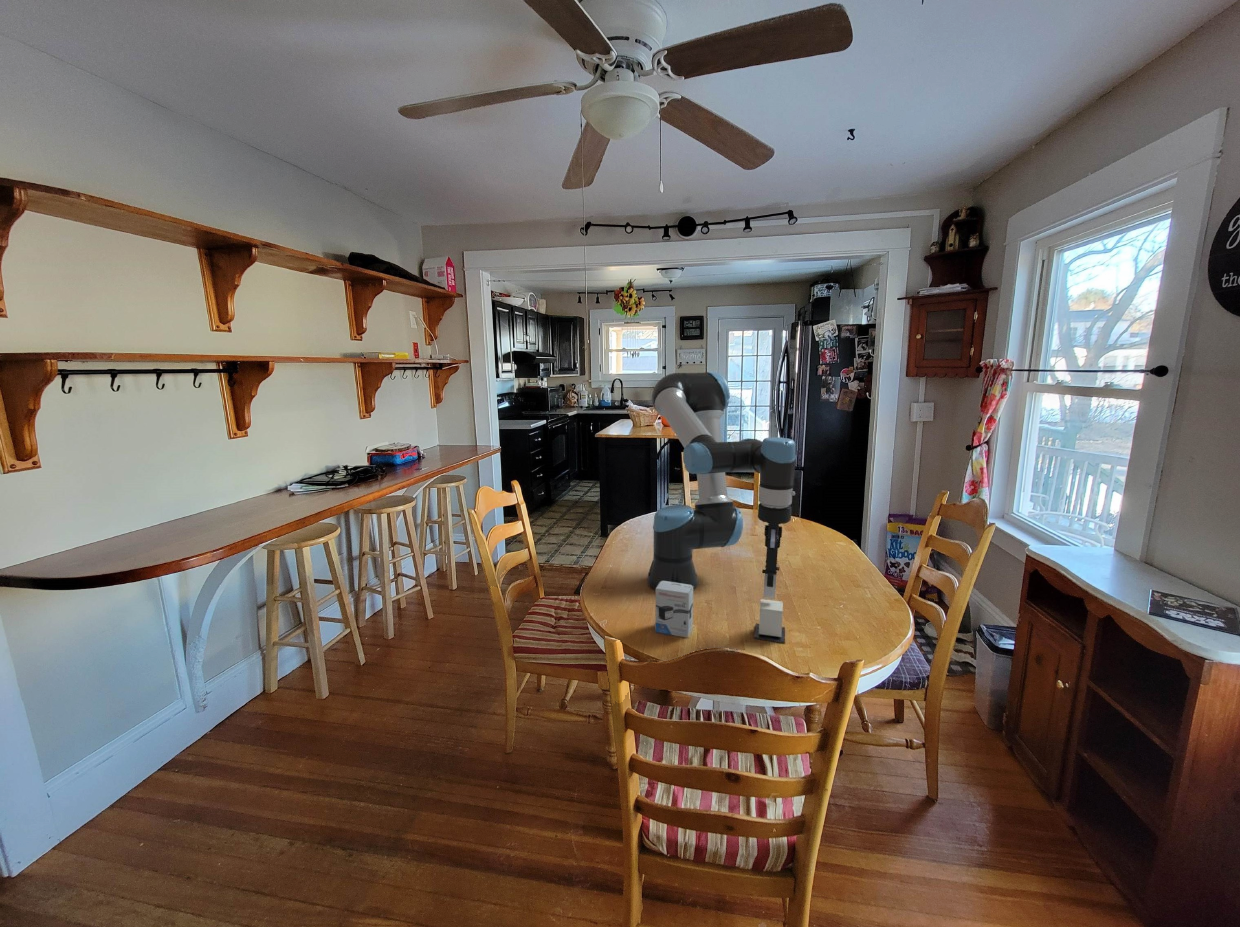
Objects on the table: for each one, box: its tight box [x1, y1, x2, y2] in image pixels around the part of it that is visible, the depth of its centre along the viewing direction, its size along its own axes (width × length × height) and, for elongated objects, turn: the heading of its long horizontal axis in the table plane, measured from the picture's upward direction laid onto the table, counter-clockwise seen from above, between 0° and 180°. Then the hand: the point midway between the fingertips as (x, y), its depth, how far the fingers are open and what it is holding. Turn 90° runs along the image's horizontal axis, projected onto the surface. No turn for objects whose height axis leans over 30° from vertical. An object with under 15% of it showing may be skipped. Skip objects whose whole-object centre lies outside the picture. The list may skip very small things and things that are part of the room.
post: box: [753, 622, 786, 644], centre depth 124 cm, size 7×7×7 cm
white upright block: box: [758, 598, 784, 637], centre depth 124 cm, size 5×5×7 cm
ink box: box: [654, 581, 694, 638], centre depth 125 cm, size 8×5×12 cm, turn 69°
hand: (769, 596), depth 124 cm, fingers closed
